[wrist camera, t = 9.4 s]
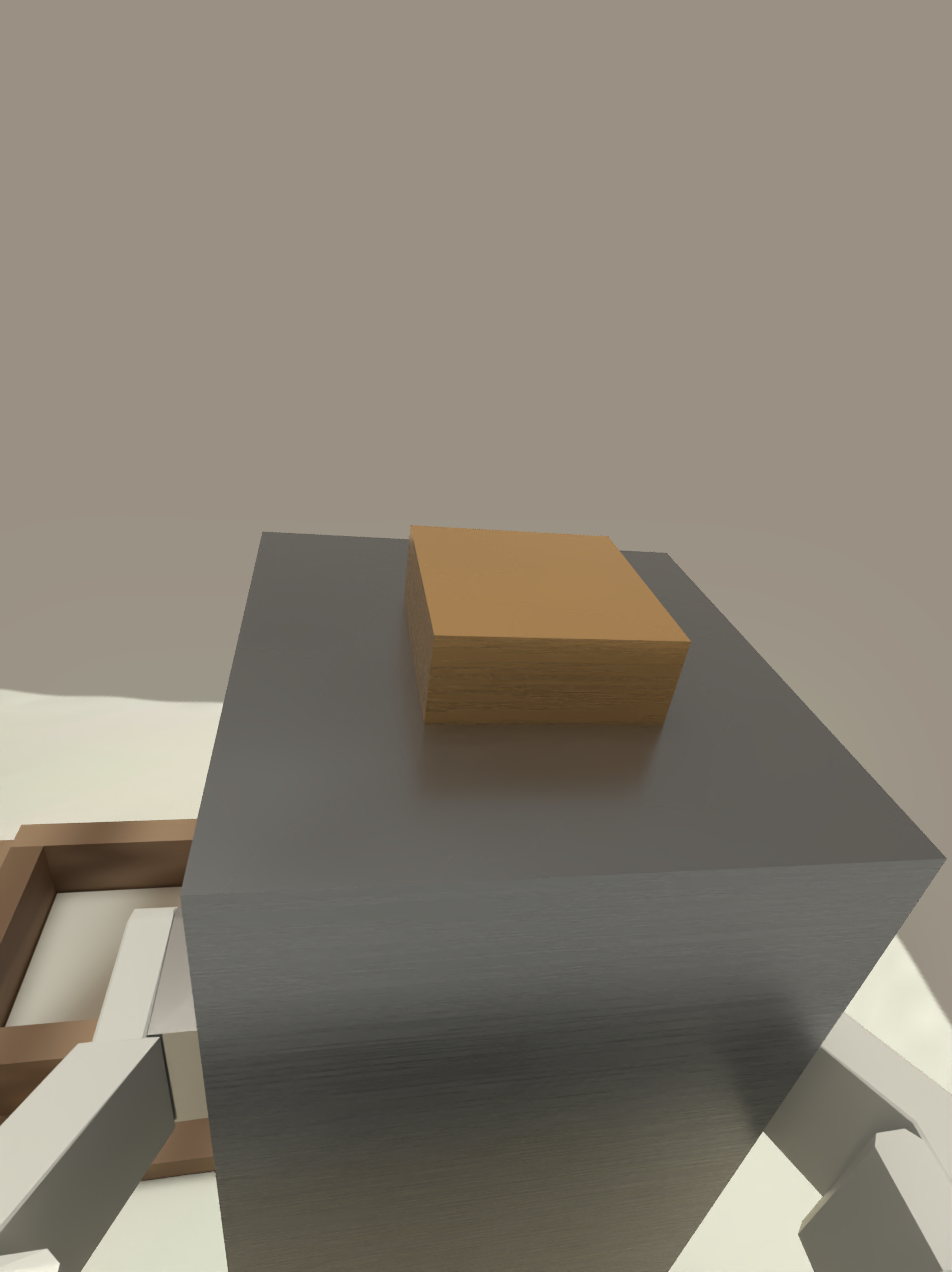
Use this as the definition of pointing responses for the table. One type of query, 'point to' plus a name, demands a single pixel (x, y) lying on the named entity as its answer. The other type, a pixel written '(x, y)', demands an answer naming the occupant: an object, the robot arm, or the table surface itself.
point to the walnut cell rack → (80, 948)
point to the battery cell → (513, 905)
